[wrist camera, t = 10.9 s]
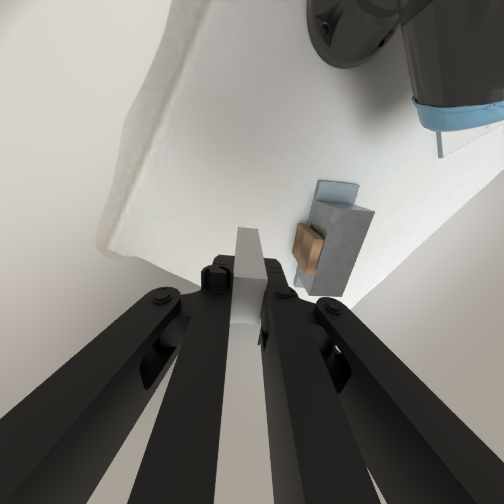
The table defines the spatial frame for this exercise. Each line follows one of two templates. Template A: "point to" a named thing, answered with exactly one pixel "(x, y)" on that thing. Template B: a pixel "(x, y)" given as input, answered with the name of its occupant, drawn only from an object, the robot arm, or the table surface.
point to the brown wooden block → (307, 248)
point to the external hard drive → (461, 138)
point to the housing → (335, 238)
